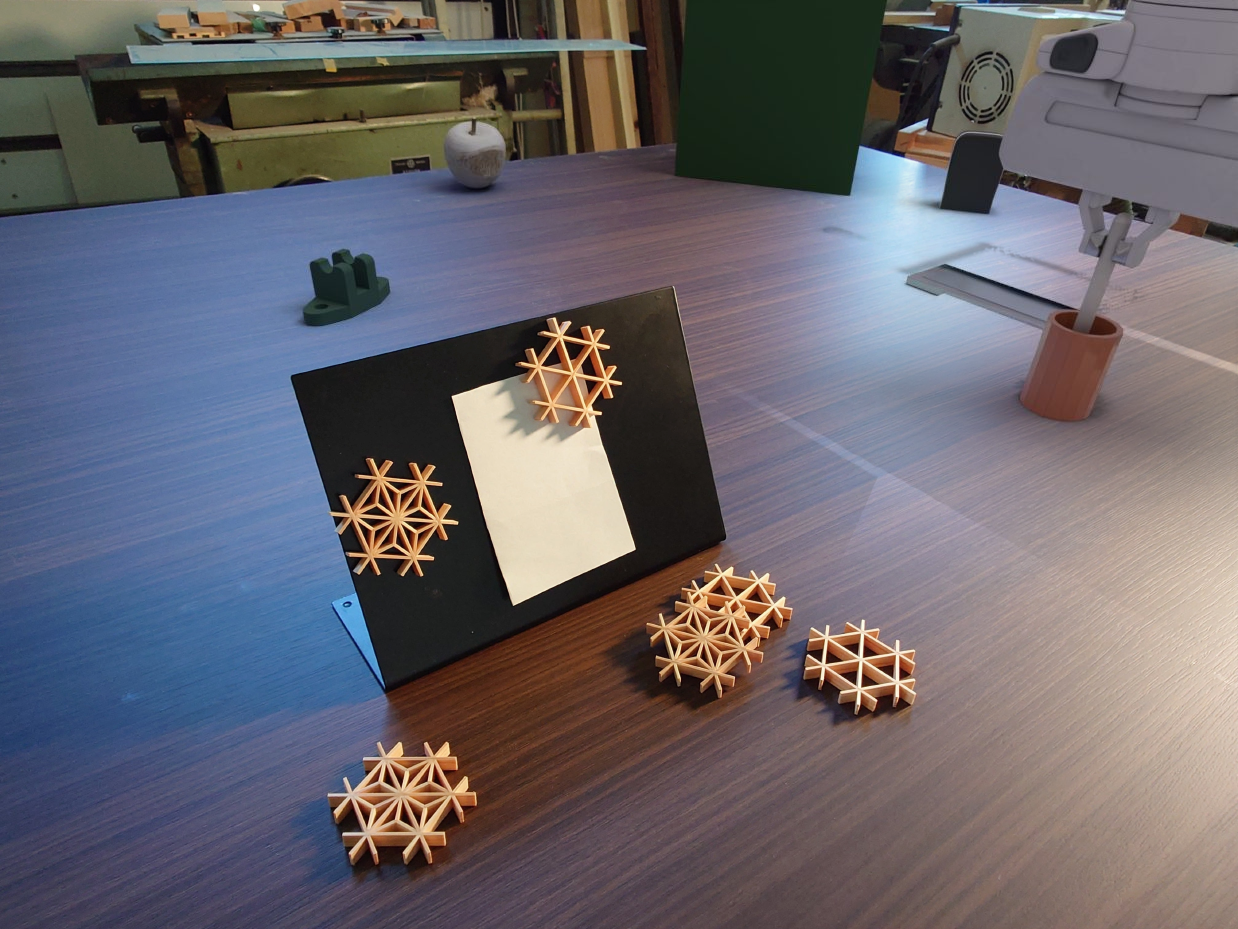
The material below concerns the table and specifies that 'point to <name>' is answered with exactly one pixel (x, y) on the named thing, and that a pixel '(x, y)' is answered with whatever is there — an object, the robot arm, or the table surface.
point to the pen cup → (1069, 366)
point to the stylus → (1102, 274)
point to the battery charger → (973, 172)
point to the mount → (343, 288)
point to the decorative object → (475, 153)
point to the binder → (776, 91)
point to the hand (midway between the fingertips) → (1108, 259)
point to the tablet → (987, 294)
